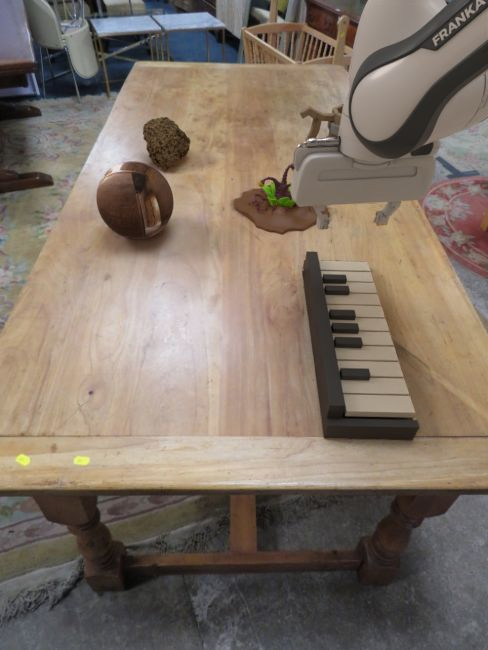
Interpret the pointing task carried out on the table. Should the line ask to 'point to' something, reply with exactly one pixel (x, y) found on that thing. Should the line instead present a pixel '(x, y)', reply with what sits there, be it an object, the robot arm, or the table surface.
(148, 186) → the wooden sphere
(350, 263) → the low key
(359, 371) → the keyboard
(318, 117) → the tankard
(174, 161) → the brown porous lump
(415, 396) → the table surface
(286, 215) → the plant
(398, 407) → the white piano key
